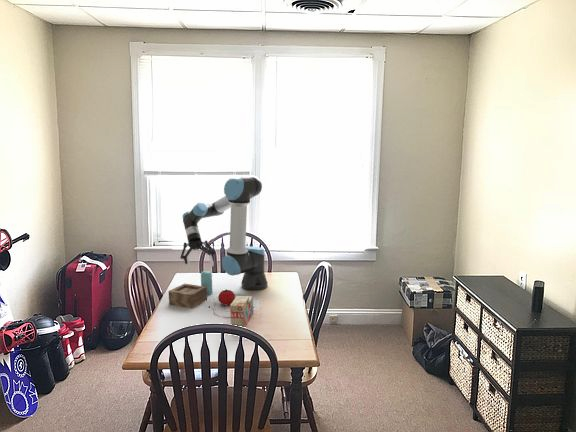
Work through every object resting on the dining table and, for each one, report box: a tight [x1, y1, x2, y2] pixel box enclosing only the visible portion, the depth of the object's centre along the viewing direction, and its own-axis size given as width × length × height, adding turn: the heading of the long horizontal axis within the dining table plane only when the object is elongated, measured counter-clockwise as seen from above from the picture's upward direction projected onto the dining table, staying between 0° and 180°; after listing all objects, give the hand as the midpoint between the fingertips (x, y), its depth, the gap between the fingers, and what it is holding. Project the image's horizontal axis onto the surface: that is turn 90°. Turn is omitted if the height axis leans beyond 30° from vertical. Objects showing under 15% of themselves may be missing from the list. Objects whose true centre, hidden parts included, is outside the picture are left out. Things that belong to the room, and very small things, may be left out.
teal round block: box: [200, 270, 213, 296], centre depth 278 cm, size 6×6×12 cm
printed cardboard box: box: [229, 295, 254, 328], centre depth 237 cm, size 21×6×12 cm, turn 173°
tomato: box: [217, 288, 236, 306], centre depth 261 cm, size 9×9×8 cm
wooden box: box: [168, 283, 208, 309], centre depth 264 cm, size 14×14×7 cm
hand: (201, 267), depth 284 cm, fingers open, 13 cm apart
